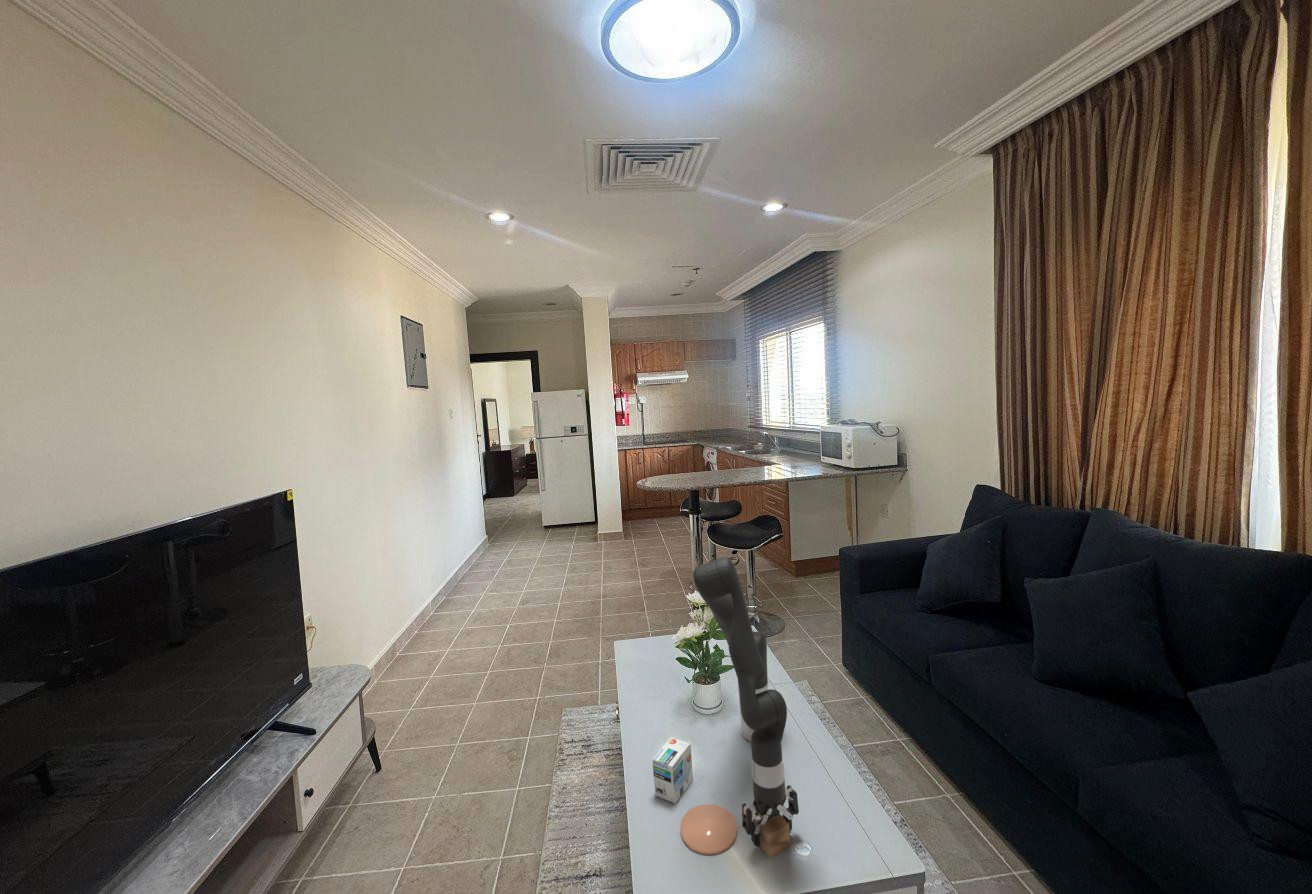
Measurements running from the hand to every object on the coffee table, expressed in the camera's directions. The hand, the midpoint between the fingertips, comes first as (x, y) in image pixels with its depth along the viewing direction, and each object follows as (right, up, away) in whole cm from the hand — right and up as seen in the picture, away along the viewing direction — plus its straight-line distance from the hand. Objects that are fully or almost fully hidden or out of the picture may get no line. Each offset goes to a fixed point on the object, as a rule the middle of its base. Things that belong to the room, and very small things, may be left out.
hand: (772, 837), depth 124 cm
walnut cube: (0, -1, 0) cm, 1 cm away
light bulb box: (-23, -1, +20) cm, 30 cm away
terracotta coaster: (-15, -2, +5) cm, 16 cm away
